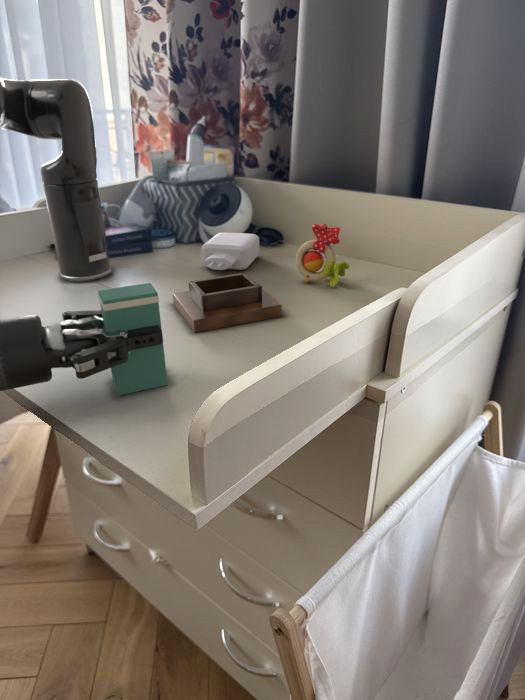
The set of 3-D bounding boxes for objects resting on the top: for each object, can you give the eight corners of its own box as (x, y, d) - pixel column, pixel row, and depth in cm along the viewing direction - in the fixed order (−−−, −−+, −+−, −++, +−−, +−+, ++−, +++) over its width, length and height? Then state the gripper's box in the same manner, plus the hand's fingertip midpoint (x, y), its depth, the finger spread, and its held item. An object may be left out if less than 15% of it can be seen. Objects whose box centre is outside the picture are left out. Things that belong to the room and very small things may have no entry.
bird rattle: (304, 299, 96) (352, 283, 92) (279, 241, 92) (328, 222, 88) (311, 287, 101) (357, 272, 97) (288, 232, 98) (335, 214, 94)
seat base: (194, 332, 79) (192, 304, 77) (173, 304, 89) (170, 278, 87) (281, 316, 84) (281, 289, 82) (252, 291, 94) (251, 266, 92)
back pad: (117, 396, 64) (102, 301, 58) (112, 381, 67) (97, 290, 61) (168, 385, 66) (158, 292, 61) (161, 371, 69) (150, 282, 64)
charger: (190, 277, 101) (217, 254, 114) (238, 281, 99) (259, 256, 111) (188, 253, 99) (215, 231, 111) (237, 256, 96) (259, 234, 109)
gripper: (-11, 352, 51) (169, 320, 57) (-8, 301, 63) (141, 278, 68) (8, 418, 54) (176, 382, 60) (7, 358, 66) (148, 332, 72)
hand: (156, 327), depth 64 cm, fingers closed on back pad, 3 cm apart
